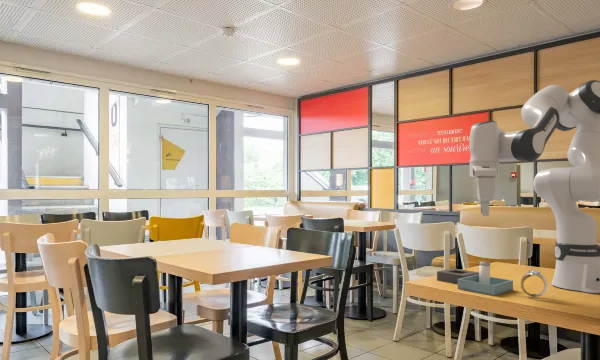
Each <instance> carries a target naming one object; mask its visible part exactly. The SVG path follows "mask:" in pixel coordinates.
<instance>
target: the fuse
mask: <svg viewBox="0 0 600 360" xmlns="http://www.w3.org/2000/svg"><path fill="white" fill-rule="evenodd" d="M478 262H479V265H478V267H479V268H478V269H479V271H478V272H479V283H485V284H490V277H491V262H490V261H483V260H482V261H478Z"/></svg>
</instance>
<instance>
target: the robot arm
mask: <svg viewBox="0 0 600 360" xmlns="http://www.w3.org/2000/svg"><path fill="white" fill-rule="evenodd" d="M520 116H521V119H522V121H523V123H524V124H525V125H526V126H527V127H529V128H527V129H523V130H521V129H520V130H514V131H507V132H505V131H503V130H502V129H500V128H499V126H498V122H497V121H496V120H488V121H487V120H485V121H481V122H475V123H474V124H472V125H471V128H470V131H469V132H470V133H469V152H470V159H469V178H473V182H474V183H476V188H477V189H476V191H477V193H476V195H477V197H476V198H477V200H479V201H480V202H479V204H480V205H479V206H480V214H481V215H482V216H483V217H489V215H490V206H491V205H490V204H491V203H490V202H492V201H493V200H494V196H495V186H496V178H500V174H501V173H500V163H508V162H512V163H513V162H528V163H529V162H531V163H532V162H535V161H536V160H538V159H539V158H540V157H541V156H542V155H543V152H544V149H545V147H546V144H547V142H548V141H549V139H550V138H551V137H552V135H553V134H554V132H555V131H556V129H557V130H558V131H562V132H568V131H572V130H573V129H575V133H574V135H573V136H572V139H571V142H570V145H569V148H568V150H567V152H566V153H567V154H566V155H567V156H566V157H567V161H568V162H569V163H570V164H571V165H572V166H571V167H569V166H568V167H550V168H547V169H542V170H540V171H538V172H537V173H536V174H535V176H534V178H533V184H532V185H533V190H534V192H535V194H536V195H537V196H538V197H539V198H540V199H542V200H543V201H545V203H546V204H547V205H548V206H549V208H550V210H551V211H552V213H553V216H554V219H555V226H556V227H555V228H556V241H555V247H554V256H555V257H554V258H555V259H556V260H555V267H554V273H553V277H552V281H551V283H550V284H551V285H552V286H554V287H557V288H561V289H564V290H565V289H566V290H570V291H577V292H578V291H579V292H583V293H589V294H600V245H599V244H597V222H596V219H595V218H594V217H593V216H592V215H590V214H589V213H586V212H584V211H582V210H580V208H579V207H578V204H577V202H579V201H580V202H582V201H583V202H584V201H585V202H600V81H599V80H596V79H592V80H588V81H586V82H584V83H582V84H580V85H579V87H577V88H575V89H574V90H572V91H571V92H569V93H568V91H567V90H566V88H564V87H563V86H562V85H558V84H550V85H548V86H545V87H543V88H542V89H540V90H538V91H537V92H535V93H534V94H533V95H532V96H530V98H529V99H528V100H526V102H524V104H523V105H522V108H521V113H520Z"/></svg>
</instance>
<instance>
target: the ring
mask: <svg viewBox="0 0 600 360" xmlns="http://www.w3.org/2000/svg"><path fill="white" fill-rule="evenodd" d="M541 272H542V271H540V270H537V269H531V270H530V269H529V270H528V271H527V272H526V273H524V274H523V275H522V276H521V278H520V287H521V290H522V291H523V292H524V294H526V295H527V296H529V297H532V298H534V297H535V298H538V297H541V296H543V295H544V294H545V293H546V292H547V289H548V280H547V279H546V277H545V276H544V275H543V274H541ZM533 276H534V277H535V276H536V277H538V278H540V279H541V280H542V283H543V290H542V291H541V292H539V293H534V292H532V293H530V292H529V291H527V290H526V289H525V286H524V284H525V282H526V280H527V279H528V278H530V277H533Z"/></svg>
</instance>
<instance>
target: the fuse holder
mask: <svg viewBox="0 0 600 360" xmlns="http://www.w3.org/2000/svg"><path fill="white" fill-rule="evenodd" d="M473 275H479V271H474V270H473V271H472V270H467V269H461V268H460V269H459V268H454V267H452V268H448V269H447V268H446V269H442V270H438V271H436V280H437V281H440V282H444V283H445V282H446V283H452V284H457V285H458V279H461V278H465V277H469V276H473Z"/></svg>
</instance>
